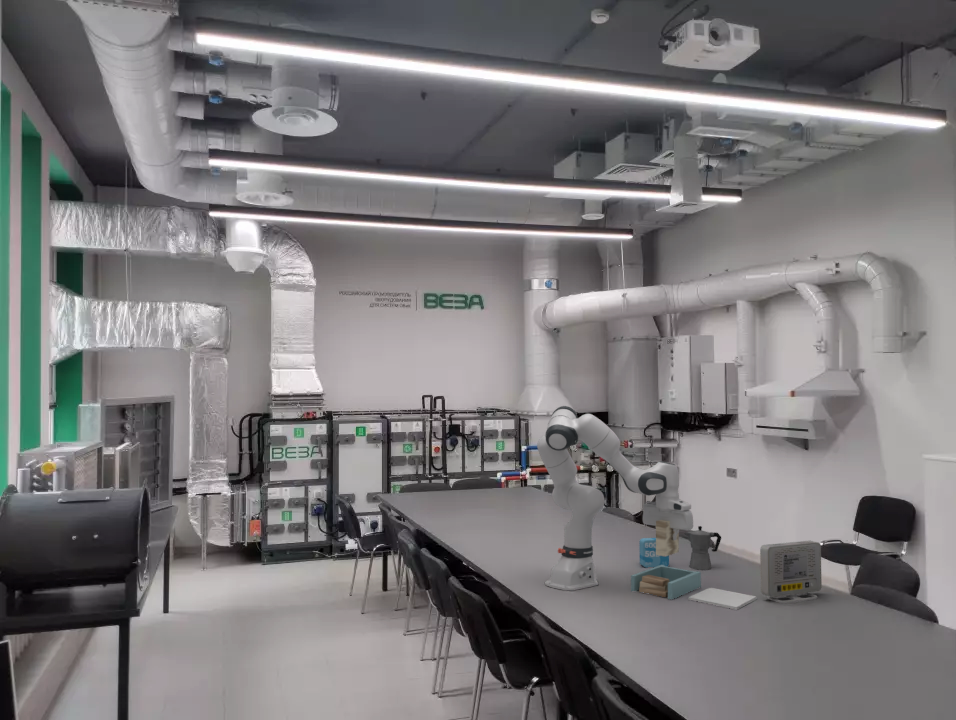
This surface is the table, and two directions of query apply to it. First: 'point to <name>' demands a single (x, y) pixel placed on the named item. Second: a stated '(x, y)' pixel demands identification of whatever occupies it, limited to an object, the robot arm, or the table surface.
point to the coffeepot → (701, 548)
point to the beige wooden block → (665, 539)
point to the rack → (671, 579)
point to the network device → (790, 570)
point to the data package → (650, 554)
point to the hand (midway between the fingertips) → (667, 538)
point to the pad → (723, 598)
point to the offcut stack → (654, 585)
